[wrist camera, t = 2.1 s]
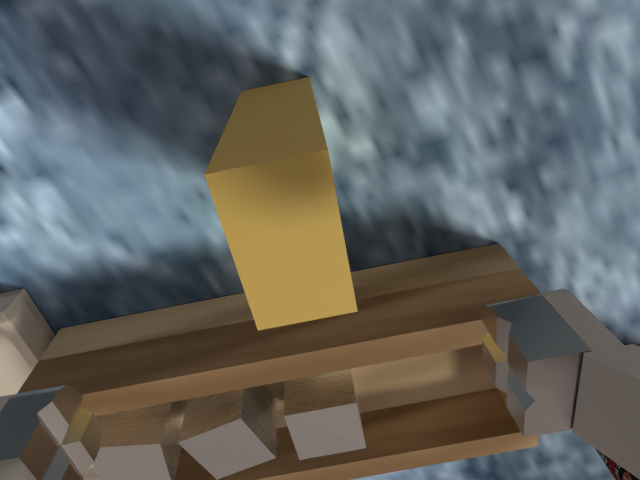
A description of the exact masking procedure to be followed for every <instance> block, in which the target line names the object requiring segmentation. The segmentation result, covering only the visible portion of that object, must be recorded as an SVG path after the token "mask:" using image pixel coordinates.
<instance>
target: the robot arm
mask: <svg viewBox="0 0 640 480" xmlns="http://www.w3.org/2000/svg"><path fill="white" fill-rule="evenodd" d="M482 322H483V324H484V325H485V327H486V329H487V330H488V333H487V334H486V335H485V337H484V338H483V339H482V341H483V355H484V359H485V363H486V367H487V370H488V372H489V375H490V377H491V379H492V381H493V383H494V385H495V386H496V388H498V389H500V390H501V391H503V392H505V393H506V394H507V408H508V410H509V412H510V414H511V415H512V417H513V419H514V421H515V422H516V424H517V426H518V428H519V430H520V431H521V433H522V435H523V437H527V436H534V435H540V434H547V433H553V432H560V431H566V430H573V431H572V432H573V433H574V434H576V435H577V436H579V437H580V438H581V439H583V440H584V441H586V442H587V443H589V444H590V445H591V446H593V447H594V448H596V449H597V450H598V451H600V452H601V453H603V454H604V455H606V456H607V457H608V458H610V459H611V460H613V461H614V462H615V463H617V464H618V465H620V466H621V467H623V468H624V469H625V470H627V471H628V472H630V473H631V474H632V475H634V476H635V477H637V478H638V479H640V346H637V345H635V344H630V345H624V344H623V343H621V342H620V341H619V340H618V339H617V338H616V337H615V336H614V335H613V334H612V333H611V332H610V331H609V330H608V329H607V328H606V327H605V326H604V325H603V324H602V323H601V322H600V321H599V320H598V319H597V318H596V317H595V316H594V315H593V314H592V313H591V312H590V311H589V310H588V309H587V308H586V307H585V306H584V305H583V304H582V303H581V302H580V301H579V300H578V299H577V298H576V297H575V296H574V295H573V294H572V293H571V292H570V291H568V290H565V289H559V290H554V291H549V292H545V293H540V294H537V295H533V296H528V297H523V298H518V299H513V300H508V301H503V302H498V303H492V304H487V305H484V308H483V311H482ZM82 400H83V397H82V396H81V394H80V393H79V391H78V390H77V389H76V387H75V386H69V385H64V386H58V387H52V388H46V389H40V390H34V391H28V392H22V393H18V394H13V395H7V396H1V397H0V480H83V477H82V474H83V473H84V472H85V471H86V470H87V469H88V468H89V467H90V466H91V465H92V464H93V463H94V462H95V459H96V457H97V454H98V451H99V449H100V439H101V431H100V427H99V423H98V421H97V419H96V417H95V416H94V414H93V413H92V412H90V411H88V410H86V409H84V408H82V407H81V403H82Z"/></svg>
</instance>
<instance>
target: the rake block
mask: <svg viewBox="0 0 640 480" xmlns="http://www.w3.org/2000/svg"><path fill="white" fill-rule="evenodd" d="M204 175H205V178H206V181H207V184H208V187H209V190H210V193H211V196H212V198H213V201H214V204H215V207H216V210H217V213H218V216H219V219H220V222H221V225H222V228H223V231H224V233H225V236H226V239H227V242H228V245H229V248H230V251H231V254H232V257H233V260H234V263H235V265H236V268H237V271H238V274H239V277H240V280H241V283H242V286H243V289H244V292H245V295H246V297H247V300H248V303H249V306H250V309H251V312H252V315H253V318H254V321H255V324H256V327H257V329H258V330H264V329H269V328H274V327H279V326H285V325H290V324H295V323H300V322H306V321H311V320H316V319H321V318H327V317H332V316H337V315H342V314H348V313H353V312H358V310H357V305H356V299H355V294H354V289H353V283H352V278H351V272H350V267H349V262H348V256H347V251H346V245H345V240H344V234H343V229H342V224H341V218H340V213H339V207H338V202H337V197H336V191H335V186H334V180H333V175H332V170H331V164H330V159H329V153H328V148H327V145H326V141H325V137H324V133H323V129H322V125H321V121H320V118H319V114H318V110H317V106H316V102H315V98H314V95H313V91H312V87H311V83H310V79H309V77H306V78H301V79H297V80H292V81H287V82H282V83H278V84H273V85H268V86H263V87H259V88H254V89H249V90H244V91H241V94H240V96H239V98H238V100H237V103H236V105H235V107H234V109H233V112H232V114H231V116H230V118H229V120H228V123H227V125H226V127H225V129H224V132H223V134H222V136H221V138H220V141H219V143H218V145H217V147H216V149H215V152H214V154H213V156H212V158H211V161H210V163H209V165H208V167H207V170H206V172H205V174H204Z"/></svg>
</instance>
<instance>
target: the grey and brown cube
mask: <svg viewBox="0 0 640 480" xmlns="http://www.w3.org/2000/svg"><path fill="white" fill-rule="evenodd" d="M183 419H184V418H183V414H182V410H181V406H180V402H179V401H175V402H170V403H164V404H159V405H154V406H148V407H143V408H138V409H132V410H127V411H121V412H116V413H111V414H105V415H100V417H99V419H98V423H99V427H100V431H101V439H100V449H99V451H98V454H97V457H96V459H95V462H94V463H93V466H94V469H95V471H96V473H97V475H98V478H99V480H174V479H175V475H176V470H177V466H178V461H179V457H180V453H181V448H182V446H181V445H179V444H178V440H179V436H180V432H181V428H182V423H183Z"/></svg>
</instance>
